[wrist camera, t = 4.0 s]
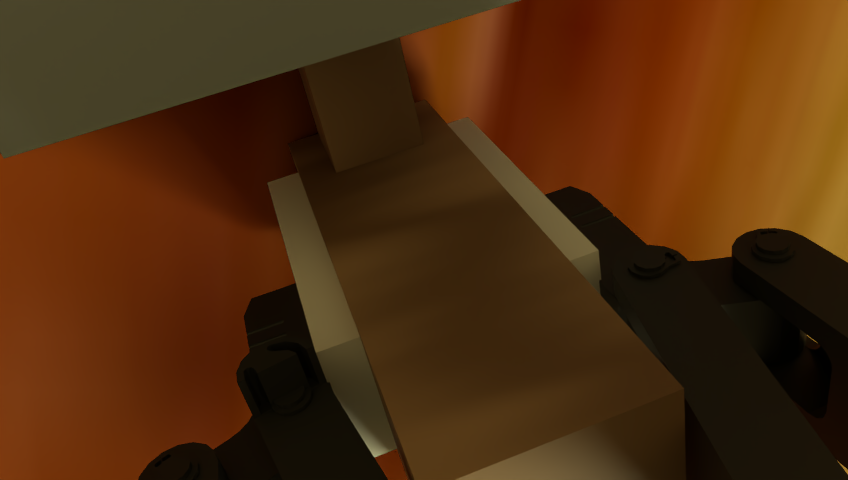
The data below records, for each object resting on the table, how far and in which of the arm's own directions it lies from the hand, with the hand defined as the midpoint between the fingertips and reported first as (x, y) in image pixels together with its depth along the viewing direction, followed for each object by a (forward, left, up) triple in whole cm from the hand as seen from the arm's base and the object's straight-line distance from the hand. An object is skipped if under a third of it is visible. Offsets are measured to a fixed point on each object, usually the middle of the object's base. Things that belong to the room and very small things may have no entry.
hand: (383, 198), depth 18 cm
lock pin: (0, +4, -1) cm, 4 cm away
